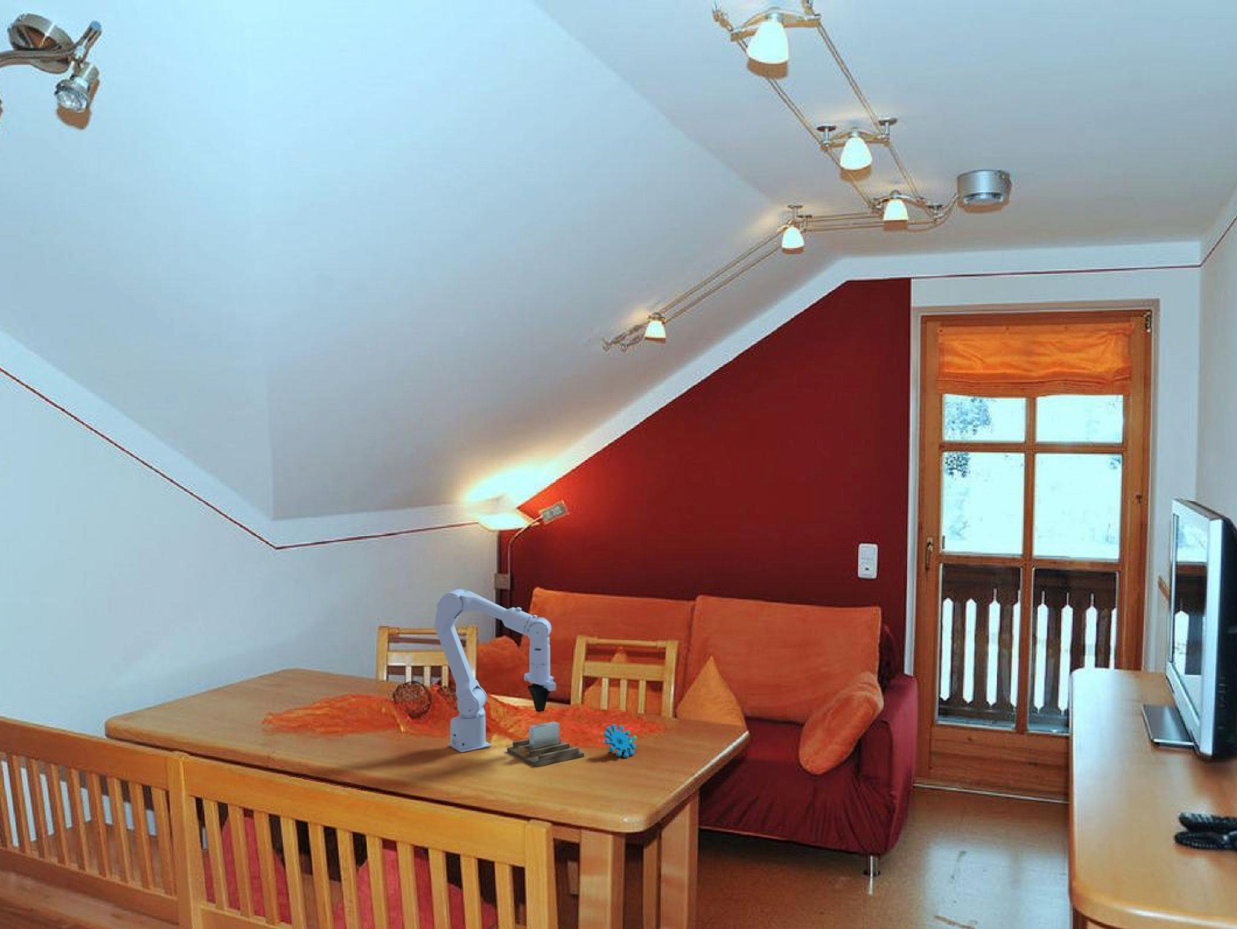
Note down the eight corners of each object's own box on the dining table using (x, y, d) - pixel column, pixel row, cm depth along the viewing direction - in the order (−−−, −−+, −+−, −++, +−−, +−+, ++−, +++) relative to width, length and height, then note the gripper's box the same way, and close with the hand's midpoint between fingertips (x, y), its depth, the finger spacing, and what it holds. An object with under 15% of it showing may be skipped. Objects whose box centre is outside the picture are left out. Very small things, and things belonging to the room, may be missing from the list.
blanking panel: (534, 754, 280) (533, 728, 279) (529, 751, 282) (529, 726, 281) (559, 748, 284) (559, 723, 284) (554, 746, 286) (554, 721, 286)
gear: (614, 756, 276) (600, 723, 281) (603, 768, 279) (589, 735, 285) (645, 753, 283) (631, 721, 288) (634, 765, 286) (620, 733, 291)
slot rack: (535, 767, 272) (535, 755, 272) (507, 751, 285) (506, 740, 285) (584, 756, 281) (584, 745, 280) (554, 741, 294) (553, 731, 294)
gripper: (565, 665, 284) (565, 714, 284) (539, 655, 296) (539, 703, 296) (542, 669, 280) (543, 719, 280) (517, 659, 292) (518, 706, 292)
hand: (540, 711), depth 288 cm, fingers closed
